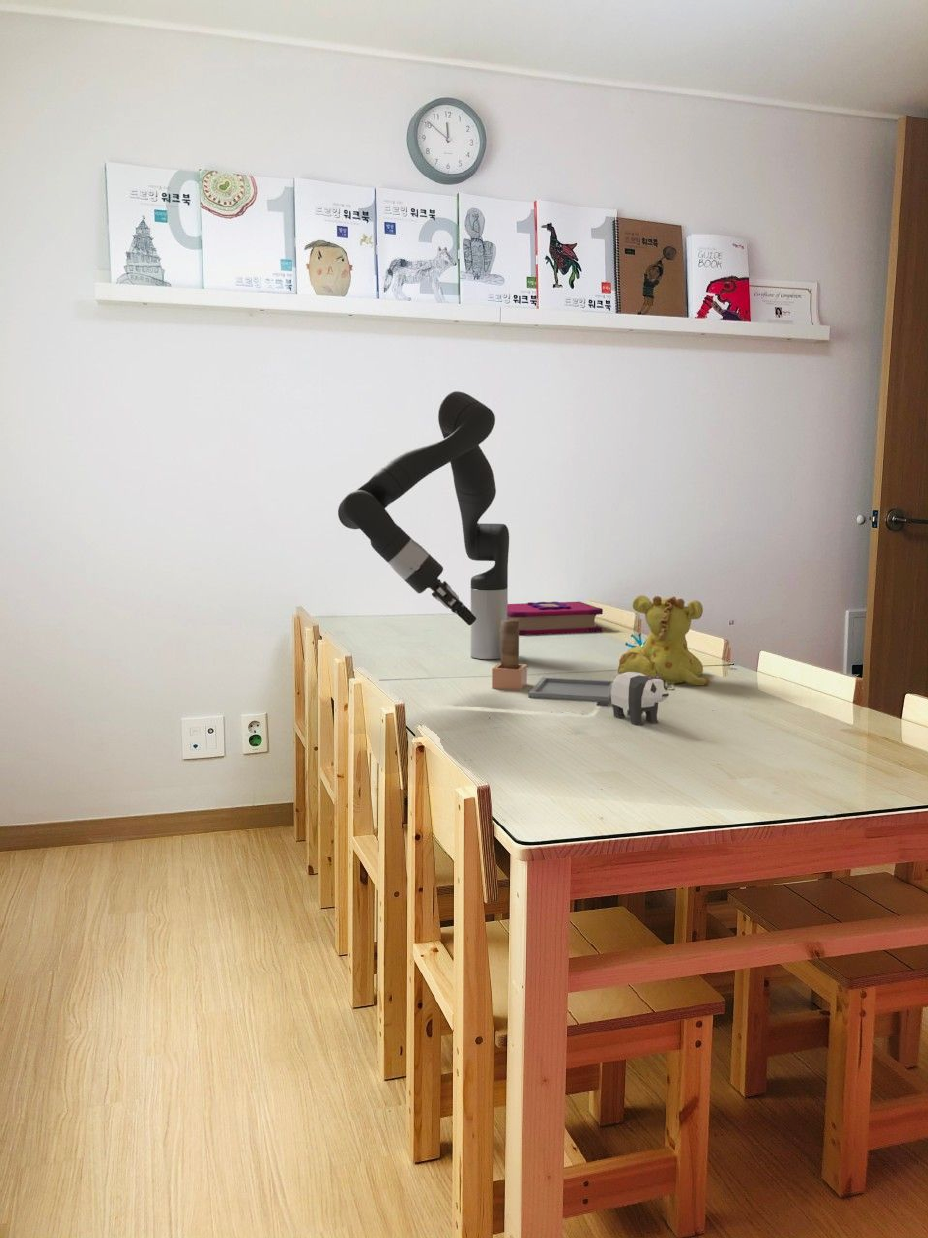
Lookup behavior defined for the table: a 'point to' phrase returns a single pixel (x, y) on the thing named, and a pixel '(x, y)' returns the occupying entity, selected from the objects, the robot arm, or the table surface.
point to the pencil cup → (509, 677)
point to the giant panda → (637, 696)
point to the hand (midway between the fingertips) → (471, 619)
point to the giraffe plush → (665, 642)
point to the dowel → (510, 644)
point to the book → (554, 617)
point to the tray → (573, 690)
